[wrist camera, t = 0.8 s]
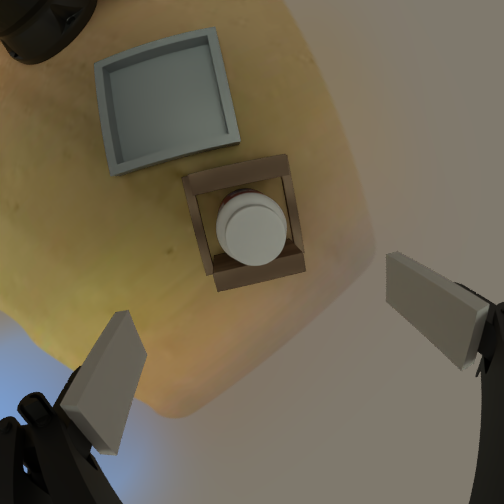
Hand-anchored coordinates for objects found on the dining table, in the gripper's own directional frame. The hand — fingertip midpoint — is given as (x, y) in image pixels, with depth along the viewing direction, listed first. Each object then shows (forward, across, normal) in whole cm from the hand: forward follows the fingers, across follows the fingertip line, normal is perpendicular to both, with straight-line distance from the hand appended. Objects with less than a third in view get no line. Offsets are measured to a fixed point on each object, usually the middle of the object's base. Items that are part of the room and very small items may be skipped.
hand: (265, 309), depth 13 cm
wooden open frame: (+20, +1, +1) cm, 20 cm away
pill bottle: (+20, +1, +1) cm, 20 cm away
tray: (+20, -5, +16) cm, 26 cm away
